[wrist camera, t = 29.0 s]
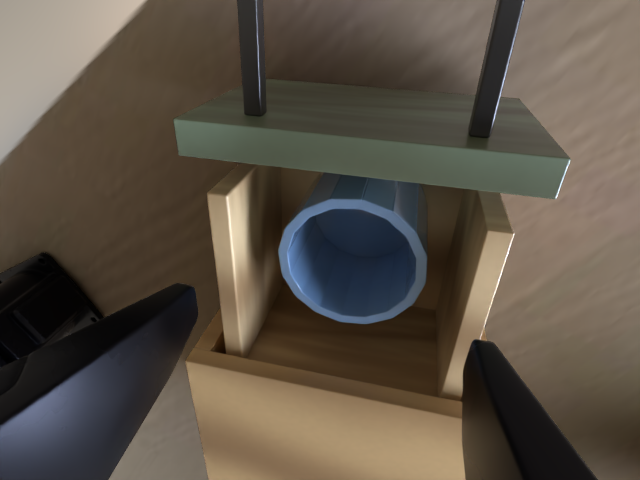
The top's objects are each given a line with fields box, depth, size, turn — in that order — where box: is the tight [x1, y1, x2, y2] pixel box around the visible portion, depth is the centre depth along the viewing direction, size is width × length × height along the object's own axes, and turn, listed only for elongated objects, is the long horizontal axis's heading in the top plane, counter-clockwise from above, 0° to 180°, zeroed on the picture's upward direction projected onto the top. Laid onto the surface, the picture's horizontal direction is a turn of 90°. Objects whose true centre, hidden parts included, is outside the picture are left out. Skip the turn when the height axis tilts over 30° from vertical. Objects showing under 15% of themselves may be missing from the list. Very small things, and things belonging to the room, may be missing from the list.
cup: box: [278, 172, 428, 324], centre depth 18 cm, size 6×6×5 cm
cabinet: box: [185, 308, 486, 480], centre depth 23 cm, size 13×13×9 cm
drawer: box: [173, 0, 570, 401], centre depth 16 cm, size 18×11×7 cm, turn 178°
